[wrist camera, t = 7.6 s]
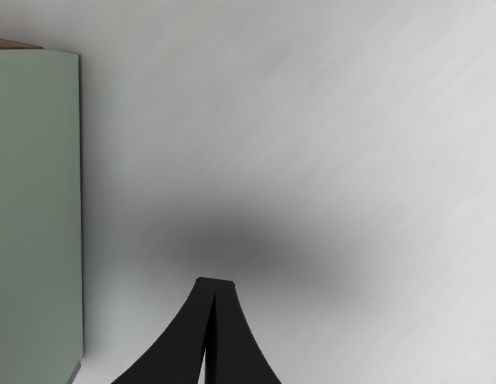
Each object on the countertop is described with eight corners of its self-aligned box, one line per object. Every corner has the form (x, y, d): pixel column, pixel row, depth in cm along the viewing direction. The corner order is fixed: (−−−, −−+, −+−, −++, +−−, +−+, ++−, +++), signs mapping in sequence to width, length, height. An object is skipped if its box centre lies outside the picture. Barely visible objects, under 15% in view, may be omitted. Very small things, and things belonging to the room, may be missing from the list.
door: (84, 365, 18) (16, 503, 13) (61, 362, 18) (-18, 501, 13) (80, 54, 12) (-52, 61, 7) (46, 48, 12) (-117, 49, 7)
